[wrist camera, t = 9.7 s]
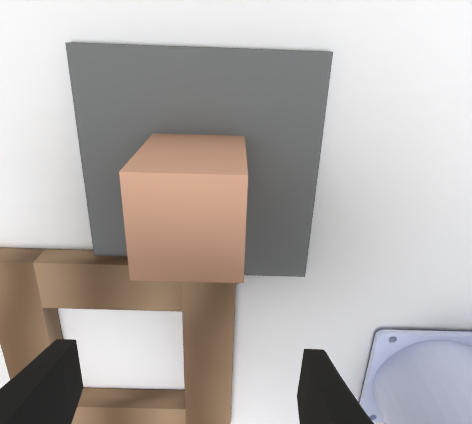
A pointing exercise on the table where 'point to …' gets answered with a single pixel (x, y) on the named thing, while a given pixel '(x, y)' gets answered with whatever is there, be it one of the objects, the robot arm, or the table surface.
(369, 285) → the table surface
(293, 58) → the rubber mat
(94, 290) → the pocket frame
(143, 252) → the block
